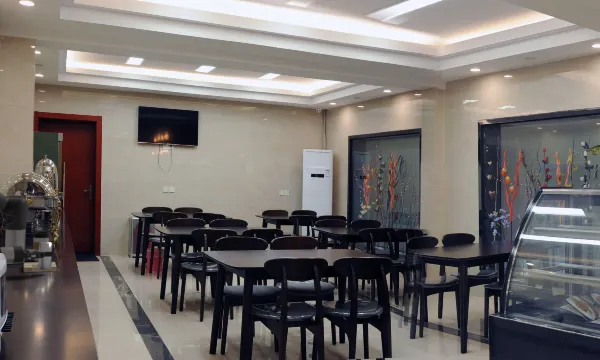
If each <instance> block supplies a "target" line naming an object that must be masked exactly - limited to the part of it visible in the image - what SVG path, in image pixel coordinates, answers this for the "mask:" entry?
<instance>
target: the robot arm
mask: <svg viewBox="0 0 600 360" xmlns="http://www.w3.org/2000/svg"><path fill="white" fill-rule="evenodd" d="M28 212H29V203H28V200H27V199H26V198H15V197H14V198H13V197H11V198H8V197H6V196H5V194H3V193H2V192H0V213H2V214H3V215H5V216H8V217H16V218H15V220H14V221H12V222H9V223H6V225H5V240H4V241H5V245H4V246H2V247H0V253H3V254H4V255H5V257H6V259H7V264H8V265H9V264H11V265H12V264H13V265H14V264H15V265H17V264H24V263H25V259H27V260H34V259H36V258H44V257H51V256H52V257H53V256H54V252H53V251H52V252H44V251H43V252H39V250H37V249H36V250H35V249H34V248H33V249H29V248H27V249H26V231H27V230H26V228H27V224H28V223H27V222H28V214H29V213H28ZM40 254H41V256H39V255H40ZM7 264H6V265H7Z"/></svg>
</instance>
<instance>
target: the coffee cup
mask: <svg viewBox="0 0 600 360" xmlns="http://www.w3.org/2000/svg"><path fill="white" fill-rule="evenodd" d="M32 238H33V241H32V246H33V247H32V248H33V249H35V250H36V249H37V250H39V243H40V242H50V241H49V240H50V239H49V238H50V232H49V231H38V232H37V231H36V232H33V235H32ZM33 260H34V261H35V262H38V261H39V258H36V259H33Z"/></svg>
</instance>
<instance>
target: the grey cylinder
mask: <svg viewBox="0 0 600 360" xmlns="http://www.w3.org/2000/svg"><path fill="white" fill-rule="evenodd" d="M43 251H44V252H53V243H52V242H51V241H49V242H40V243H39V252H43ZM39 256H41V254H40V255H39ZM52 259H53V256H51V257H44V258H39V261H37V263H38V269H41V270H47V269H50V267H51V263H52V262H53V261H52Z"/></svg>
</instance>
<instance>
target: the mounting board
mask: <svg viewBox="0 0 600 360" xmlns="http://www.w3.org/2000/svg"><path fill="white" fill-rule="evenodd" d="M56 271H57V264H56V262H55V261H52V263H51V267H50V269H47V270H41V269H38V262H24V263H23V273H41V272H56Z"/></svg>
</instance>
